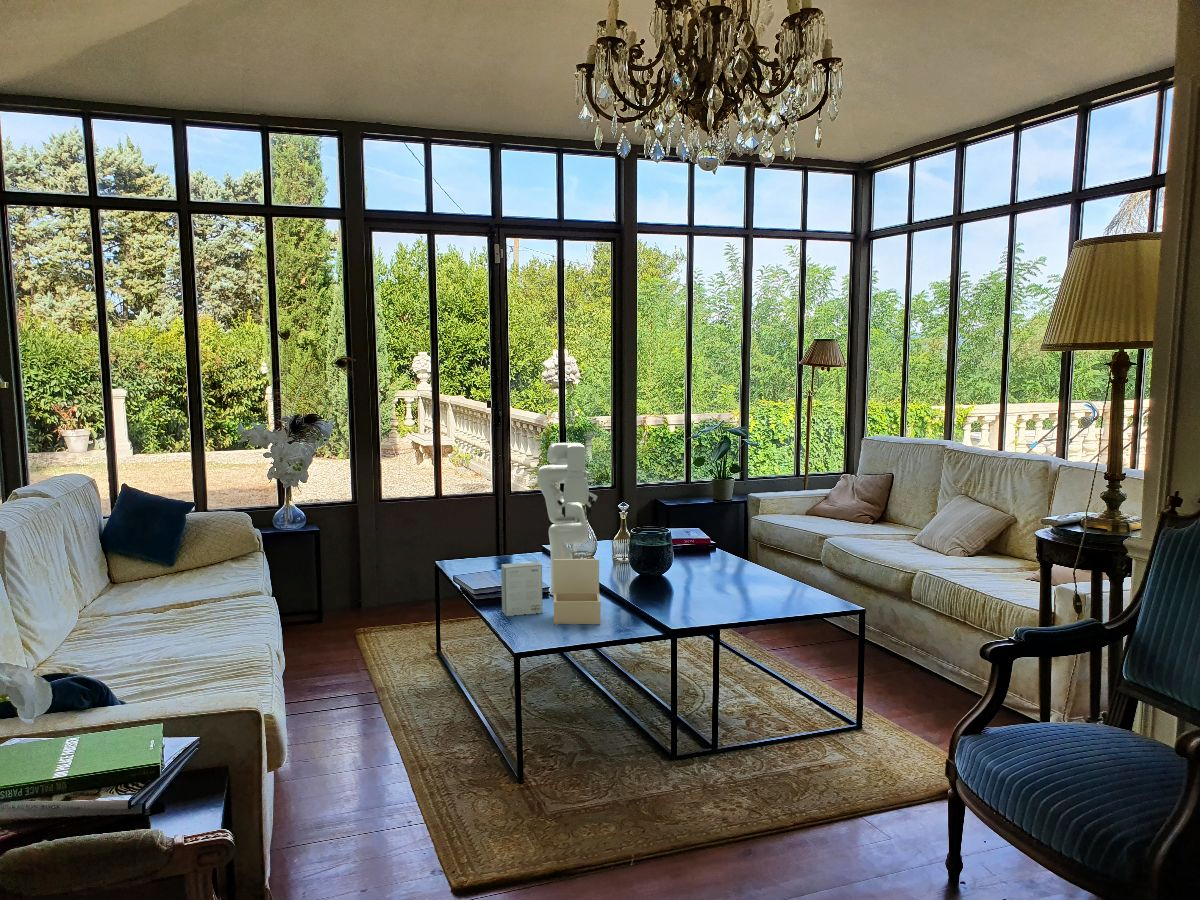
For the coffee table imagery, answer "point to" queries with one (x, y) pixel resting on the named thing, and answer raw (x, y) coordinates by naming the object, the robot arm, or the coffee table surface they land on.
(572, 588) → the carton flap
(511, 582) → the hard drive box
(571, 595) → the carton
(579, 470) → the robot arm
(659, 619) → the coffee table surface
